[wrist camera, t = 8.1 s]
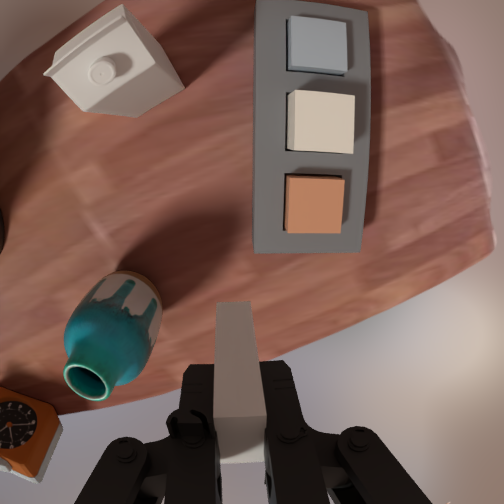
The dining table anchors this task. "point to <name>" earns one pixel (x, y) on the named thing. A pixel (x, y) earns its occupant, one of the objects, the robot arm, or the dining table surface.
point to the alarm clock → (27, 435)
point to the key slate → (316, 46)
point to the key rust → (312, 203)
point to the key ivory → (320, 121)
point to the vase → (111, 334)
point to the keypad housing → (273, 128)
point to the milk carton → (115, 67)
